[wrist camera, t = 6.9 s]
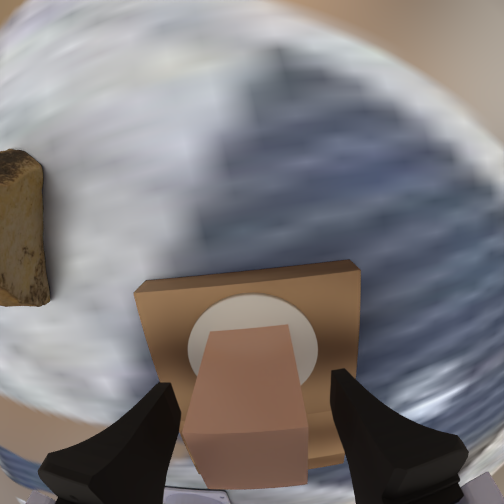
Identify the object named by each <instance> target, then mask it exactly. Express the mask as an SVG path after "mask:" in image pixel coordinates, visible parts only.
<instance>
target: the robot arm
mask: <svg viewBox="0 0 504 504" xmlns="http://www.w3.org/2000/svg"><path fill="white" fill-rule="evenodd" d="M330 407H331V411H332V416H333V421H334V424H335V426H336V429H337V432H338V435H339V438H340V440H341V443H342V446H343V449H344V452H345V455H346V457H347V461H348V464H349V469H350V474H351V478H352V484H353V489H354V495H355V501H356V504H504V497H503V495H502V494H501V492H500V490H499V488H498V487H497V485H496V483H495V482H494V480H493V478H492V477H491V475H490V473H489V472H485V473H484V474H482V475H480V476H478V477H477V478H475V479H473V480H471V481H469V482H468V483H466V484H465V485H463V486H462V487H461V488H460V486H459V484H458V482H459V481H460V478H459V476H458V474H457V473H458V472H459V470H460V469H461V467H462V466H463V464H464V463H465V461H466V459H467V457H468V453H469V452H468V450H467V448H466V447H465V445H464V443H463V442H462V440H461V439H460V438H459V437H458V435H454V434H449V433H445V432H441V431H437V430H434V429H431V428H428V427H425V426H423V425H420V424H418V423H416V422H414V421H412V420H409V419H407V418H405V417H404V416H402V415H400V414H398V413H397V412H395V411H393V410H392V409H390V408H389V407H387V406H386V405H385V404H383V403H382V402H381V401H379V400H378V399H377V398H376V397H374V396H373V395H372V394H371V393H370V392H369V391H368V390H366V389H365V388H364V387H363V386H362V385H361V384H360V383H359V382H358V381H357V380H356V379H355V378H354V377H353V376H352V375H351V374H350V373H349V372H348V371H347V370H346V369H345V368H342V369H336V370H331V386H330ZM181 414H182V413H181V410H180V407H179V404H178V402H177V399H176V396H175V393H174V390H173V387H172V384H171V383H170V382H159V383H158V384H156V385H155V386H154V387H153V388H152V389H151V390H150V391H149V392H148V393H147V394H146V395H145V396H144V397H143V398H142V399H141V400H140V401H139V402H138V403H137V404H136V405H135V406H134V407H133V408H132V409H131V410H129V411H128V412H127V413H126V414H125V415H124V416H122V417H121V418H120V419H119V420H118V421H116V422H115V423H114V424H112V425H111V426H109V427H108V428H106V429H105V430H103V431H102V432H100V433H98V434H96V435H95V436H93V437H91V438H89V439H88V440H85V441H83V442H81V443H79V444H76V445H74V446H71V447H69V448H66V449H62V450H59V451H55V452H52V453H48V455H47V457H46V458H45V460H44V461H43V463H42V465H41V466H40V468H39V470H38V475H39V477H40V479H41V480H42V481H43V482H44V483H45V484H46V485H47V486H48V487H49V488H50V490H51V491H52V492H54V493H55V494H56V495H57V496H58V499H57V501H55V500H53V499H52V498H50V497H48V496H46V495H43V494H41V493H39V492H37V491H35V490H33V491H32V493H31V495H30V496H29V498H28V500H27V502H26V504H163V502H164V504H231V503H230V501H229V498H228V496H227V494H226V492H224V491H206V490H189V489H178V488H169V487H165V482H166V475H167V471H168V467H169V463H170V460H171V457H172V453H173V450H174V447H175V443H176V440H177V436H178V433H179V428H180V422H181Z"/></svg>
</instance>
